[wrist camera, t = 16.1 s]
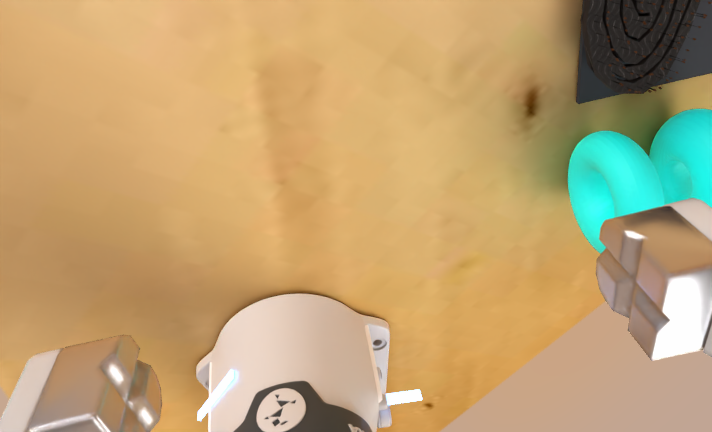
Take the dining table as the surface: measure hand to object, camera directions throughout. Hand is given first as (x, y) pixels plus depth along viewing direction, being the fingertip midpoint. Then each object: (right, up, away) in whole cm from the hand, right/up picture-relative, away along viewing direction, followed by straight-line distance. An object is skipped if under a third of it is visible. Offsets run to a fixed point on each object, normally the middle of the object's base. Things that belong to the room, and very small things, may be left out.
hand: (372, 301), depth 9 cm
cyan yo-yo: (+22, +7, +35) cm, 42 cm away
